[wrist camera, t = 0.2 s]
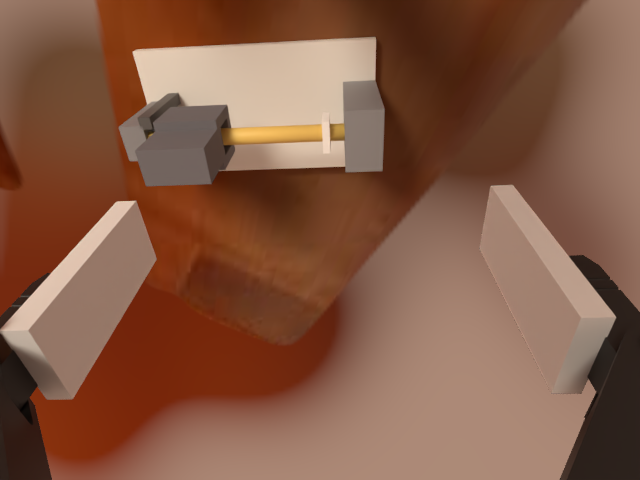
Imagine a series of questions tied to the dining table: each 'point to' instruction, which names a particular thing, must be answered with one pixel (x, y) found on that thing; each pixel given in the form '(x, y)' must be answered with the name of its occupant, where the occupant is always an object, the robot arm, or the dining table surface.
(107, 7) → the dining table surface
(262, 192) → the dining table surface
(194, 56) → the rod stand
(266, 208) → the dining table surface
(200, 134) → the grey sliding block
